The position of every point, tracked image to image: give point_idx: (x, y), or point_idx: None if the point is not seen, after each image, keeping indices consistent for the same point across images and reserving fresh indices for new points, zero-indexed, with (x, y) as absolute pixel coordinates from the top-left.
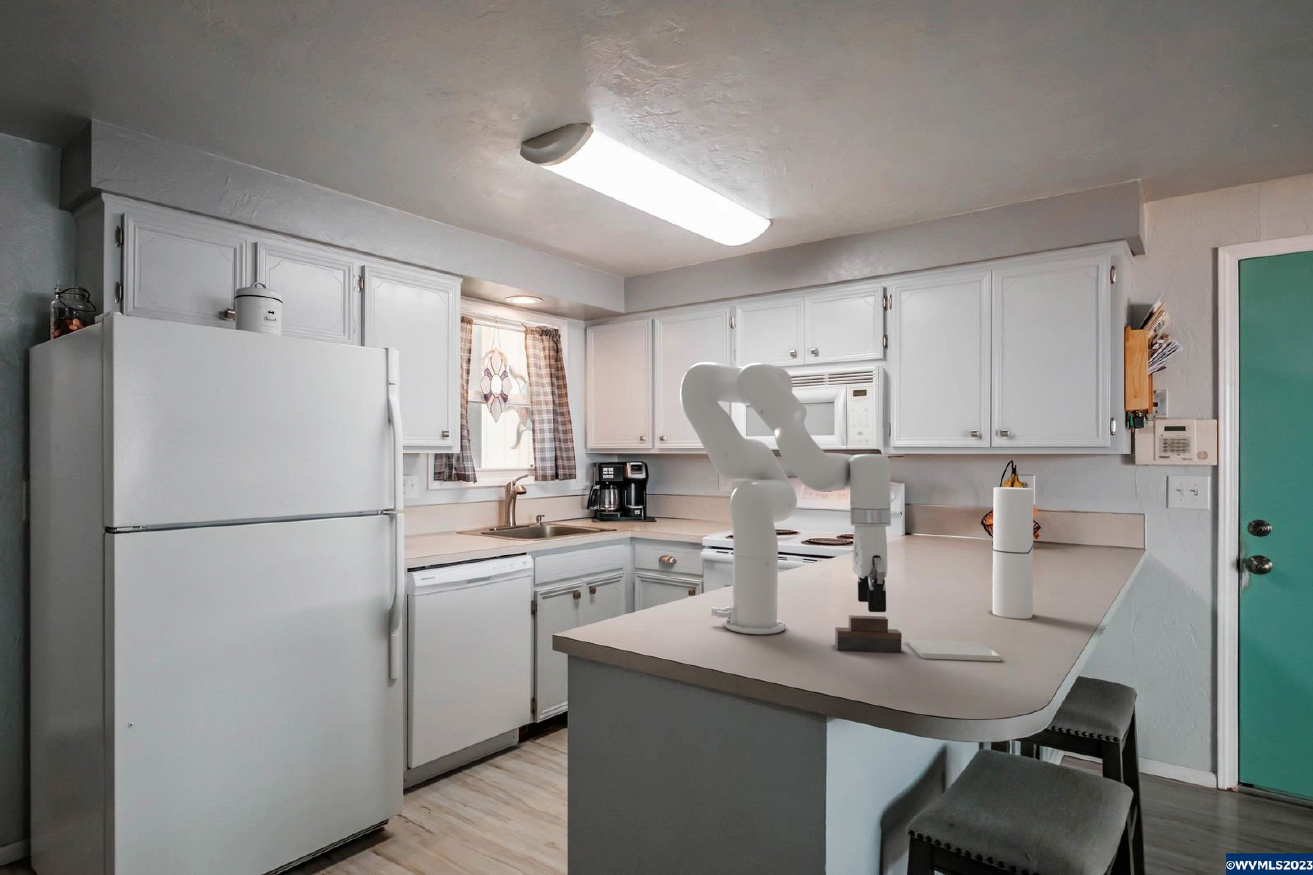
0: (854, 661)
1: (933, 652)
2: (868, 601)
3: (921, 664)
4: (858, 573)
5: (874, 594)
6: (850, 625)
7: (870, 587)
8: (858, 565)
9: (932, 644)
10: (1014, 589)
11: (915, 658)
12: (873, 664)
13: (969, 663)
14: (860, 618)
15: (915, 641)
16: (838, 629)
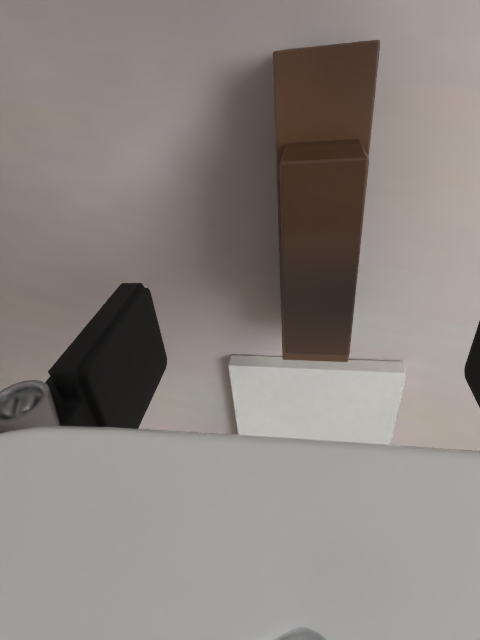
0: (121, 120)
1: (242, 391)
2: (99, 315)
3: (168, 336)
4: (123, 461)
5: (52, 383)
6: (297, 149)
7: (20, 404)
8: (30, 624)
9: (337, 413)
10: None
11: (229, 337)
12: (110, 193)
13: (216, 432)
14: (282, 224)
15: (373, 383)
16: (313, 60)
